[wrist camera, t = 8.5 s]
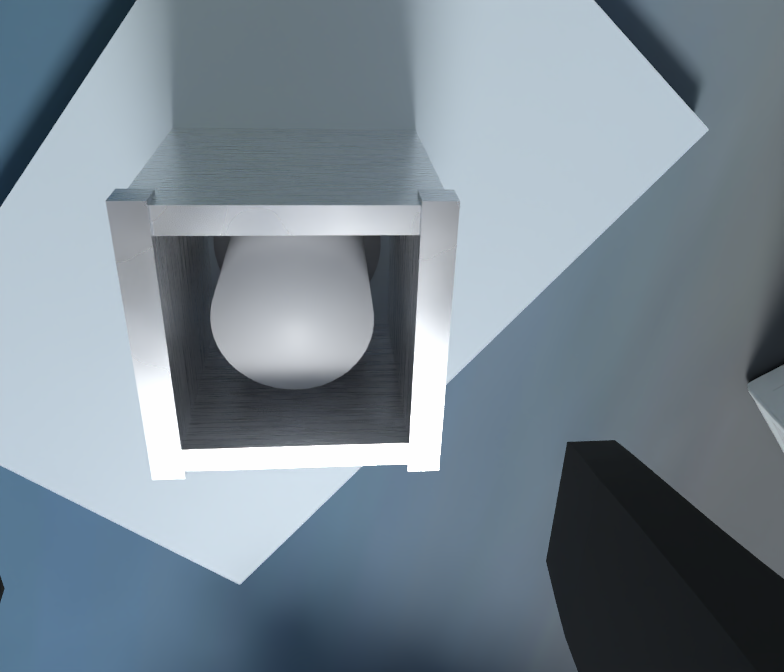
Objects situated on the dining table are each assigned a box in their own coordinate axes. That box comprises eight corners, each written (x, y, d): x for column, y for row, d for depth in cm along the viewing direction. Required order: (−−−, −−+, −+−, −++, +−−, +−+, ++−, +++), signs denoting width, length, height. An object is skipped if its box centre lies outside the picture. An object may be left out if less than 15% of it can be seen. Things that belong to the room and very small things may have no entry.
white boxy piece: (410, 340, 18) (439, 470, 14) (193, 344, 18) (152, 480, 13) (420, 125, 16) (460, 201, 11) (167, 122, 15) (105, 200, 11)
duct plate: (242, 564, 23) (224, 706, 19) (-111, 383, 19) (-235, 515, 14) (693, 121, 17) (813, 182, 13) (330, -283, 13) (336, -385, 9)
